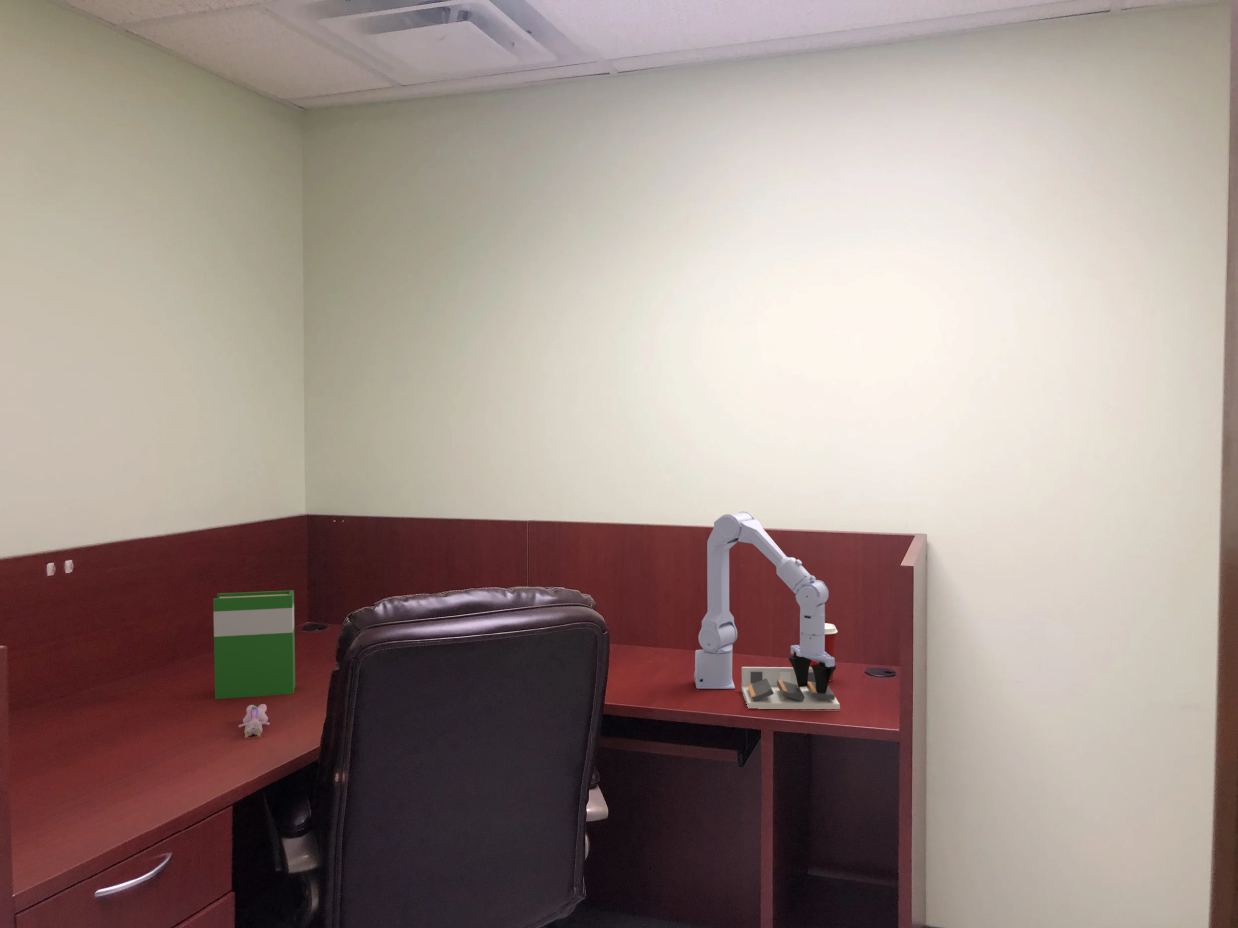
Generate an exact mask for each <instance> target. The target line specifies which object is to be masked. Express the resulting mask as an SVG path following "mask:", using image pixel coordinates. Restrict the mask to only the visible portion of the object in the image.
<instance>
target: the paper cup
mask: <svg viewBox="0 0 1238 928" xmlns="http://www.w3.org/2000/svg"><path fill="white" fill-rule="evenodd" d="M837 633H838V629H837V628H836V625H835V624H833V623H825V652H826V653H827V654H829V655H830V656H831V657H833V658H835V655H836V642H837ZM835 659H836V658H835ZM816 664H819V662H816V661H813V660H811V663H810V668H812V667H811V665H816ZM832 679H833V680H834V673H833V674H832V676H831V678H830V680H832Z"/></svg>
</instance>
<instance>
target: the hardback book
mask: <svg viewBox="0 0 1238 928" xmlns="http://www.w3.org/2000/svg"><path fill="white" fill-rule="evenodd" d="M294 592H295V590H293V589H292V590H291V589H290V590H270V591H269V590H268V591H247V592H221V593H217V595H216V597H217V598H213V599H212V600H213V601H212V603H213V606H212V607H213V641H214V642H213V648H214V649H213V653H214V654H213V655H214V658H213V660H214V661H213V662H214V699H215V700H222V699H223V700H226V699H237V698H252V697H253V698H254V697H265V696H269V697H270V696H280V694H283V695H293V694H294V693H295V689H296V653H295V650H296V648H295V647H296V646H295V645H296V644H295V641H296V640H295V593H294ZM294 688H295V689H294Z"/></svg>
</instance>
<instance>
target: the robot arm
mask: <svg viewBox="0 0 1238 928" xmlns="http://www.w3.org/2000/svg"><path fill="white" fill-rule="evenodd" d="M738 542H739V543H746V544H752V545H753V546H754V547H756V549H758V551H760V552H761V553H762V554H763V555H764V556H765V557H766V558H767V559H768V560H769V561H770V562H771V563H772V564H773V565H774V566H775V567H776V575H777V576H778V577H779V578H780V579H781V581H783V582H784V584H786V586H788V588H789V589H790V591H792V593H794V594H795V601H796V603H797V604H798V605H799V611H800V612H799V644H795V645H794V644H793V645H790V655H792V656H789V657H788V661H789V663H790V664H791V666H792V667H793V669H794V672H795V675H796V679H797V684H798V687H805V686H807V683H808V672H809V667H810V663H811V660H813V661H816V662H819V664H816V665H811V667H812V669H813V672H814V676H815V682H816V692H817V693H826V691H827V687H828V686H829V683H830V682H829V680H830V678H831V676H832V674H833V675H834V672H835V670H836V669H837V666H836V663H835V661H836V658H833V657H831V656H830V655H829V654H827V653H826V652H825V622H826V617H825V616H826V613H825V612H826V611H825V610H826V604H825V603H826V602H827V600H828V599H829V595H830V594H829V593H830V592H829V589H828V587H827V585H826V584H825V582H824V581H822V580H821V579H820V580H819V579H816V577H815V575H811V574H810V573H809V571H807V569H806V568H805V567H804V566H803V565H802V564H803V562H802V561H801V560H800V559H796V558H795V557H792V556H791V557H789V556H787V555H786V554H785V552H783V551H782V549H781V548H780V547H779V546H778V545H777V543H775V541H774V540H773V539H772V537H771V536H770V535H769V533H767V532H766V530H765V528H764V527H763V526H762V524H761V522H760V520H758V519H756V518H755V517H754V515H753V514H752V513H751V512H748V511H744V510H743V511H740V512H735V513H726V514H723V515H721V516H720V517H719V518H717V519H716V520H715V521H714V522H713V529H712V530H711V532H710V534H709V537H708V539H707V542H706V543H707V545H706V547H707V548H706V549H707V551H706V552H707V553H706V555H707V556H706V557H707V561H706V564H707V566H706V567H707V569H706V571H707V575H706V576H707V578H706V579H707V583H706V585H707V587H706V588H707V589H706V591H707V612H706V614H705V615H704V617H703V619H702V620H701V628H700V631H699V633H698V643H699V645H700V647H701V648H702V649H696V650H695V653H694V654H695V655H694V659H695V660H694V661H695V662H694V673H693V678H694V679H693V680H694V683H695V687H696V689H698V690H699V689H702V690H703V689H705V690H706V689H710V690H711V689H712V690H719V689H720V690H734V689H736V686H735V683H734V681H733V680H734V679H733V644H734V643H735V642H736V641H737V639H738V629H737V627H736V624H735V617H734V616H733V614H732V613H731V611H730V549H731V548H732V547H733V546H734V545H736V544H737V543H738Z"/></svg>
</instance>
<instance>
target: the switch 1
mask: <svg viewBox="0 0 1238 928" xmlns="http://www.w3.org/2000/svg"><path fill="white" fill-rule="evenodd" d="M748 689H749V691H750V694H751V697H752V699H753V701H754V702H755V701H758V700H760V699H763V698H765V697H768V696H770V695H773V694H774V693H773V691H772V688H771V686H770V684H769V682H768V680H767V678H766V679H764V680H761V681H759V682H756V683H754V684H751V685H749V686H748Z"/></svg>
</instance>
